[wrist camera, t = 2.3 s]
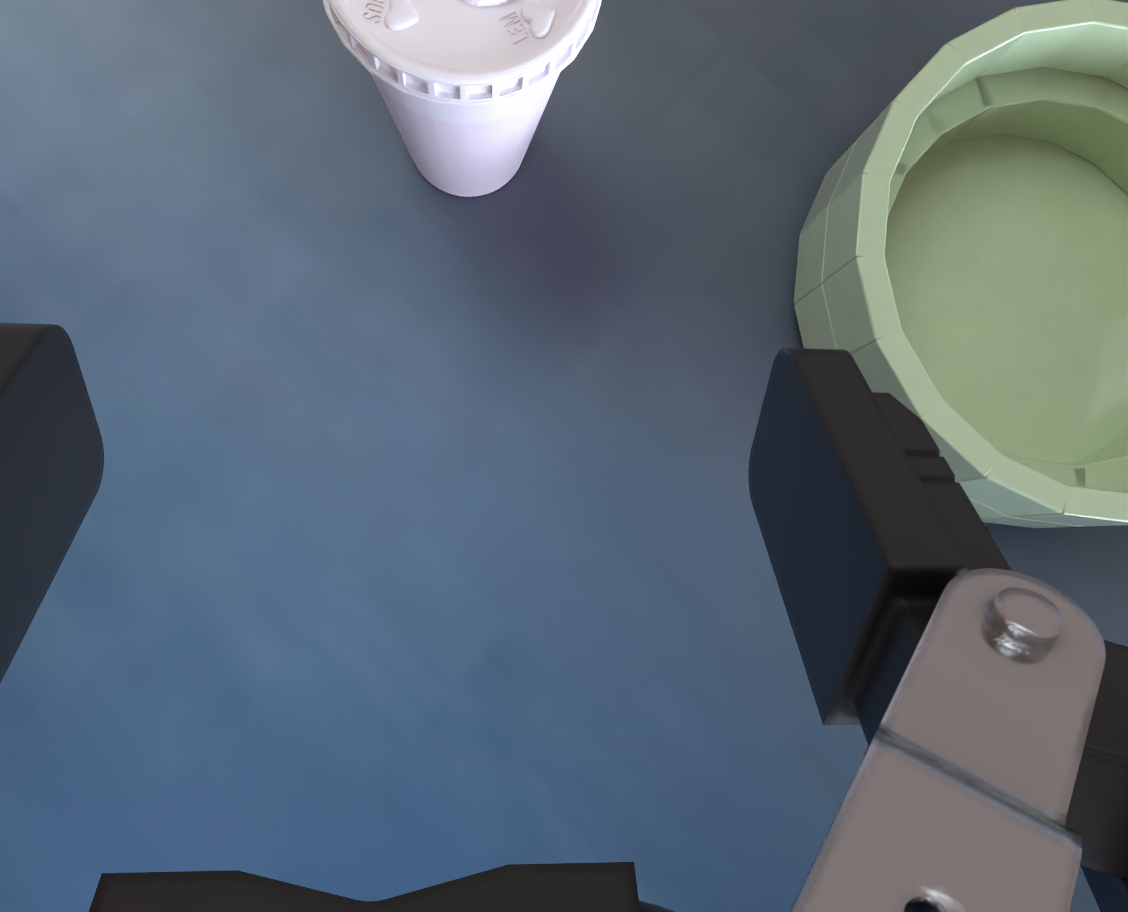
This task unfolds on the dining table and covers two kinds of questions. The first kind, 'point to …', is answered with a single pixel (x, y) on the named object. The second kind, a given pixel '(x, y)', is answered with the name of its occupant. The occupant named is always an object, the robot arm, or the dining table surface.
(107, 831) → the dining table surface
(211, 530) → the dining table surface
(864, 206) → the bowl
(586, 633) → the dining table surface
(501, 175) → the smoothie
